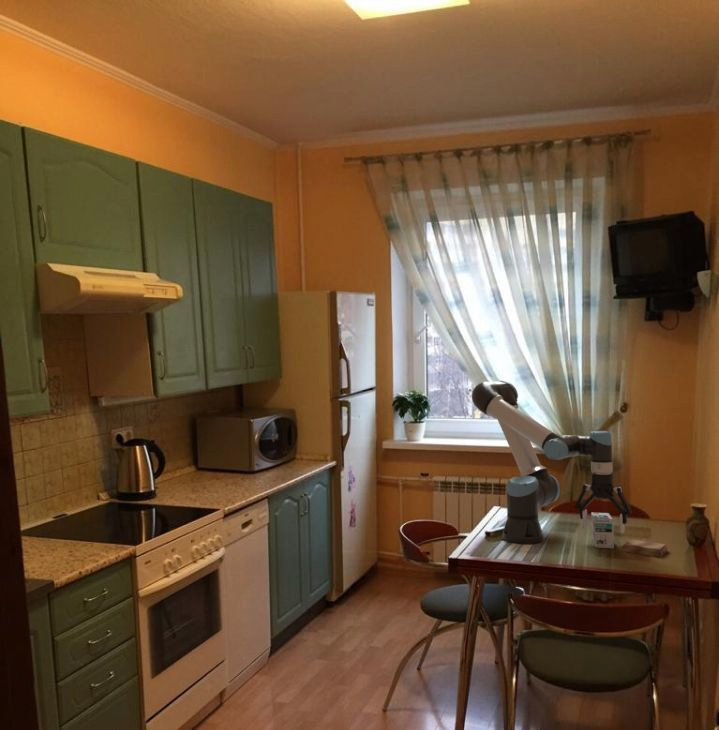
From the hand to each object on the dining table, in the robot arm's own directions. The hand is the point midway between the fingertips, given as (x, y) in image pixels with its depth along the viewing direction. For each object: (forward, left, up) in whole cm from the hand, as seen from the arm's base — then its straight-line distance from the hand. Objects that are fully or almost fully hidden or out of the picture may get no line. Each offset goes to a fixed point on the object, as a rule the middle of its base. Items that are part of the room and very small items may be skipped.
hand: (603, 530), depth 246 cm
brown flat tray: (+15, 0, -5) cm, 15 cm away
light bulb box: (0, 0, -6) cm, 6 cm away
